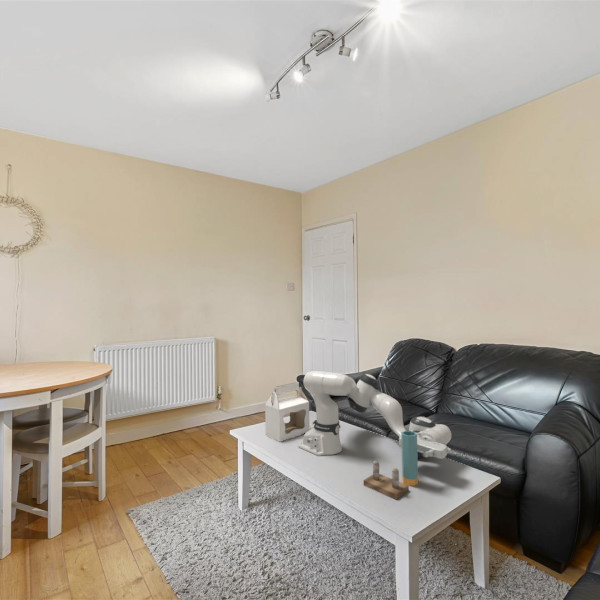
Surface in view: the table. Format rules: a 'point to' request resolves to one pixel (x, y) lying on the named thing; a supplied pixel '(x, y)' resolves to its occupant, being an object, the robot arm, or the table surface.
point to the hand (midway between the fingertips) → (413, 451)
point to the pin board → (386, 483)
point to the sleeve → (409, 458)
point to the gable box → (278, 409)
